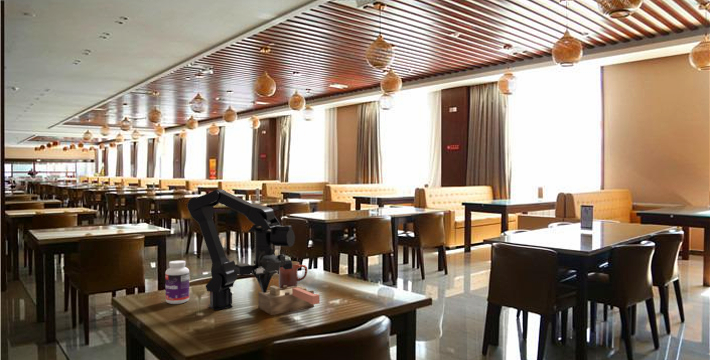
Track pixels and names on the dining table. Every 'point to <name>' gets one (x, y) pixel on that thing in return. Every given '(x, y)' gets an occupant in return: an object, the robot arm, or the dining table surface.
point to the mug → (290, 275)
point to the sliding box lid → (281, 291)
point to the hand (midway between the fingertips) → (264, 292)
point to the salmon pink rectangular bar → (306, 295)
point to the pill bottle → (177, 282)
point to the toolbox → (281, 302)
